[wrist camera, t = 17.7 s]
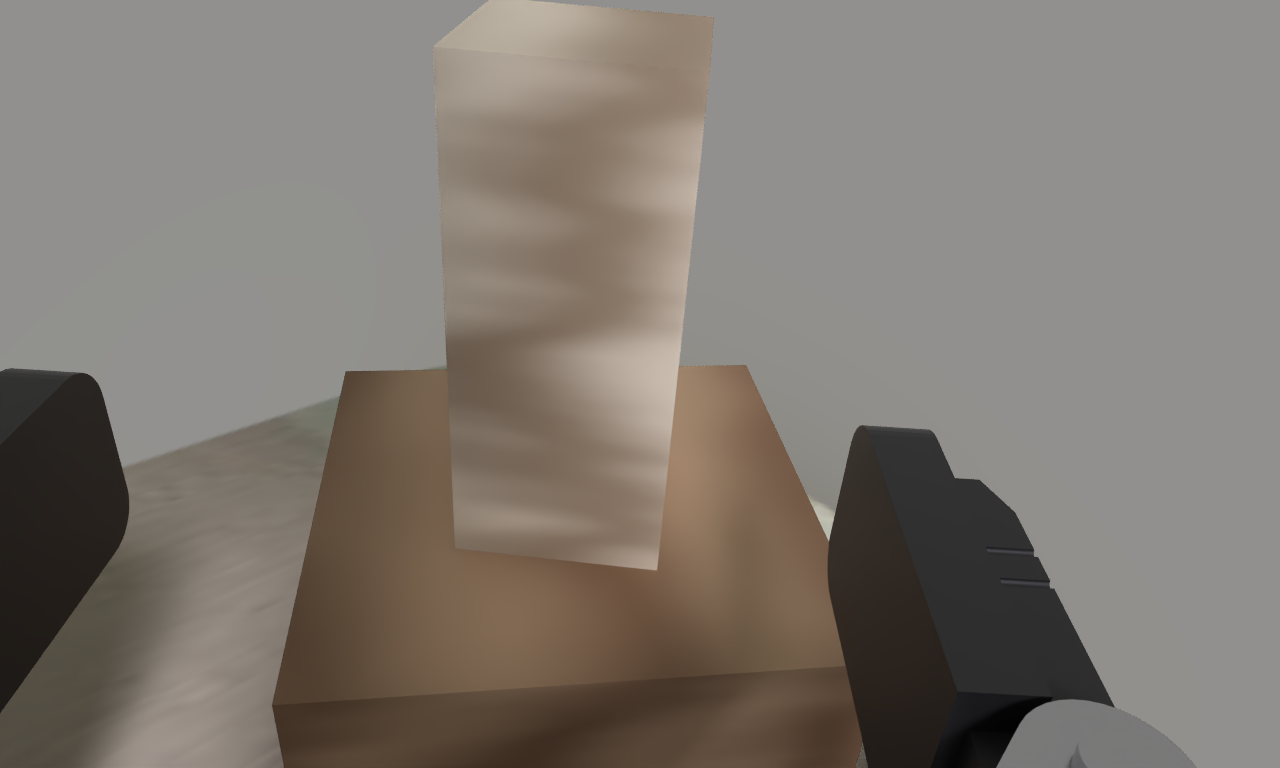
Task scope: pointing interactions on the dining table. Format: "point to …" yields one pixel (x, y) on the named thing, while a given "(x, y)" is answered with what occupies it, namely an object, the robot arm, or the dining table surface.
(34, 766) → the dining table surface
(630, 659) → the upper slab
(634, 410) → the birch block
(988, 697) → the robot arm
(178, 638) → the dining table surface
